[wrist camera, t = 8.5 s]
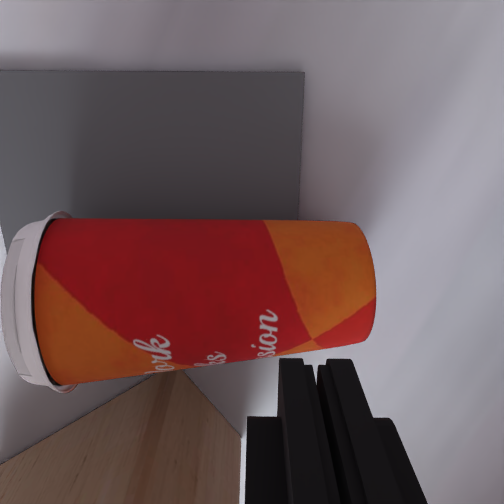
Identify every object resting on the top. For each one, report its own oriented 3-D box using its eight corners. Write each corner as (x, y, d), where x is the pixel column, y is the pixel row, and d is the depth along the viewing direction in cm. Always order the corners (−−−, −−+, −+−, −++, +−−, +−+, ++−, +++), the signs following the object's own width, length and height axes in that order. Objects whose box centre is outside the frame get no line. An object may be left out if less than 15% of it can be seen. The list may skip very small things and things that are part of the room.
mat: (291, 336, 25) (292, 341, 24) (30, 334, 25) (26, 339, 24) (303, 72, 19) (304, 71, 19) (-28, 70, 19) (-34, 70, 19)
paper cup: (333, 347, 24) (70, 368, 22) (325, 208, 24) (62, 220, 22) (395, 391, 16) (-5, 428, 14) (382, 184, 16) (-17, 200, 14)
